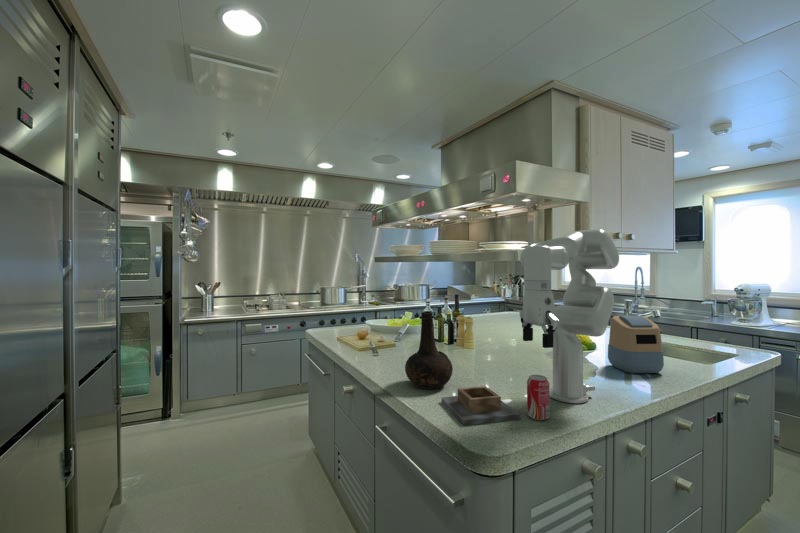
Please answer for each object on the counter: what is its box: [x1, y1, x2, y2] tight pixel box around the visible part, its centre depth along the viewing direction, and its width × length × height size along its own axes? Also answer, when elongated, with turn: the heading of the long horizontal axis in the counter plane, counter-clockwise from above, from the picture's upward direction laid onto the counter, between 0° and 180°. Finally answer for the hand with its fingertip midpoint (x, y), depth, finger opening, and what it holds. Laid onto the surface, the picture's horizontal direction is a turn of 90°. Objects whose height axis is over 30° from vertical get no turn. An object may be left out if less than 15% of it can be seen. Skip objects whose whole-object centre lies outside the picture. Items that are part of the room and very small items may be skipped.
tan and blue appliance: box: [607, 315, 665, 374], centre depth 153 cm, size 17×17×23 cm
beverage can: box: [526, 374, 550, 421], centre depth 104 cm, size 6×6×12 cm
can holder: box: [441, 385, 521, 426], centre depth 110 cm, size 18×18×6 cm
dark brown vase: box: [404, 311, 454, 390], centre depth 133 cm, size 18×18×28 cm
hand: (537, 344), depth 104 cm, fingers open, 9 cm apart
